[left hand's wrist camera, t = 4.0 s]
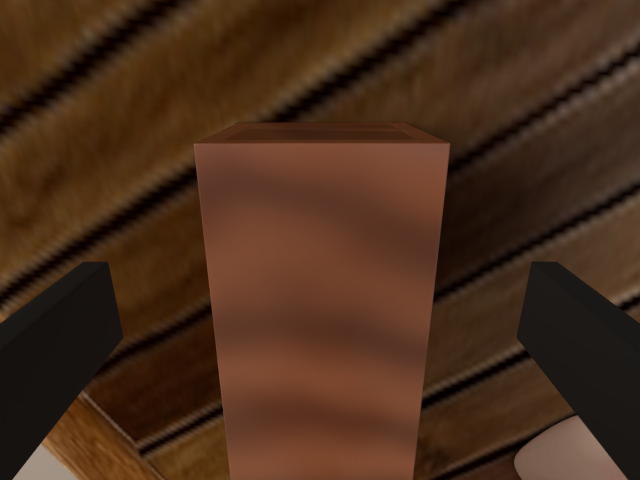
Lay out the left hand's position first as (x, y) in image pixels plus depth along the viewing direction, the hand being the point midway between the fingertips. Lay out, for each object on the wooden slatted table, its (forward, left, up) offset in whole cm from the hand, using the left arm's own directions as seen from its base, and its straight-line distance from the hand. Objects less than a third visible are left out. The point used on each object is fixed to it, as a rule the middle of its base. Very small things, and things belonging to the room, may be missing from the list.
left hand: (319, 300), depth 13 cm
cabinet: (+3, +4, -15) cm, 16 cm away
